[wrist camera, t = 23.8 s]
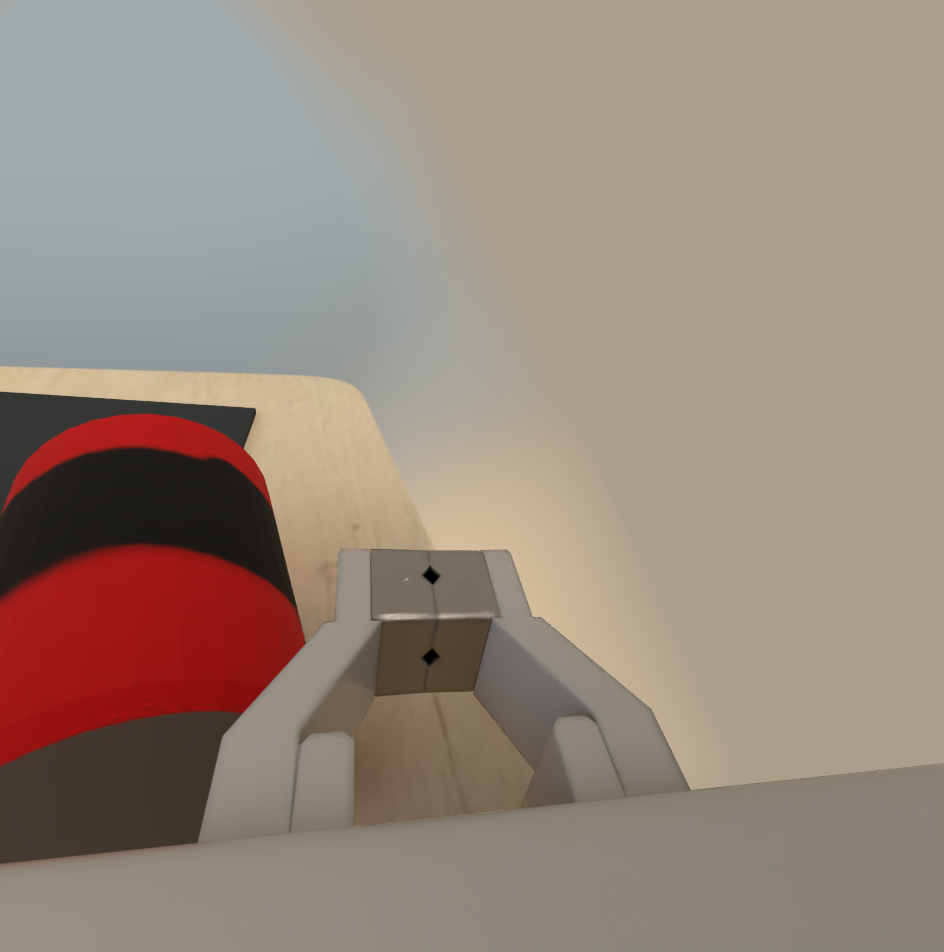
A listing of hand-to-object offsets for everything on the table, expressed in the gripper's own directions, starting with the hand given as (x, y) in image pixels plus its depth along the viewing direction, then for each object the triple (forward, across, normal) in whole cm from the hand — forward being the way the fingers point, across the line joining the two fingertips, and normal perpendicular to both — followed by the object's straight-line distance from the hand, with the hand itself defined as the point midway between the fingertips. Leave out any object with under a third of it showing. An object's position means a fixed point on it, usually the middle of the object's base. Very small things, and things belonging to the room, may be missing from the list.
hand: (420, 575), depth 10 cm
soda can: (-1, +5, +6) cm, 8 cm away
